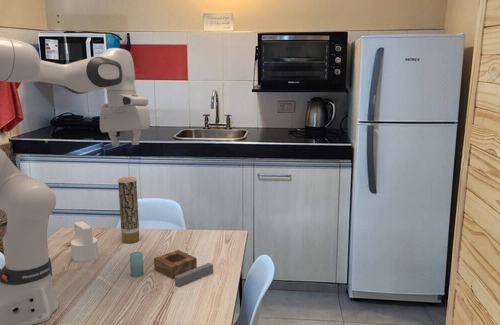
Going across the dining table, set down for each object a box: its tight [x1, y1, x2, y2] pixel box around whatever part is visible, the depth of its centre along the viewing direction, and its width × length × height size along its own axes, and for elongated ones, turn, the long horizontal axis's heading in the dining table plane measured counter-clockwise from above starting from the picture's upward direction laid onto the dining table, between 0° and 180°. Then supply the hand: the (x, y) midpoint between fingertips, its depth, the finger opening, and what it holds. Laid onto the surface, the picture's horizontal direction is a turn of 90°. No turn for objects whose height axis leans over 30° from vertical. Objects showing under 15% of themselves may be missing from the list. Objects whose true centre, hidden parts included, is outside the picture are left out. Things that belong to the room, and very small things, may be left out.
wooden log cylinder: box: [117, 176, 140, 244], centre depth 182 cm, size 7×7×25 cm
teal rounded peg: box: [129, 251, 144, 278], centre depth 152 cm, size 4×4×8 cm
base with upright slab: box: [70, 221, 99, 263], centre depth 168 cm, size 9×9×12 cm
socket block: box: [153, 249, 198, 279], centre depth 156 cm, size 10×10×4 cm
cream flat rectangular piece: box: [174, 262, 214, 288], centre depth 156 cm, size 14×20×4 cm
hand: (125, 145), depth 148 cm, fingers open, 8 cm apart
